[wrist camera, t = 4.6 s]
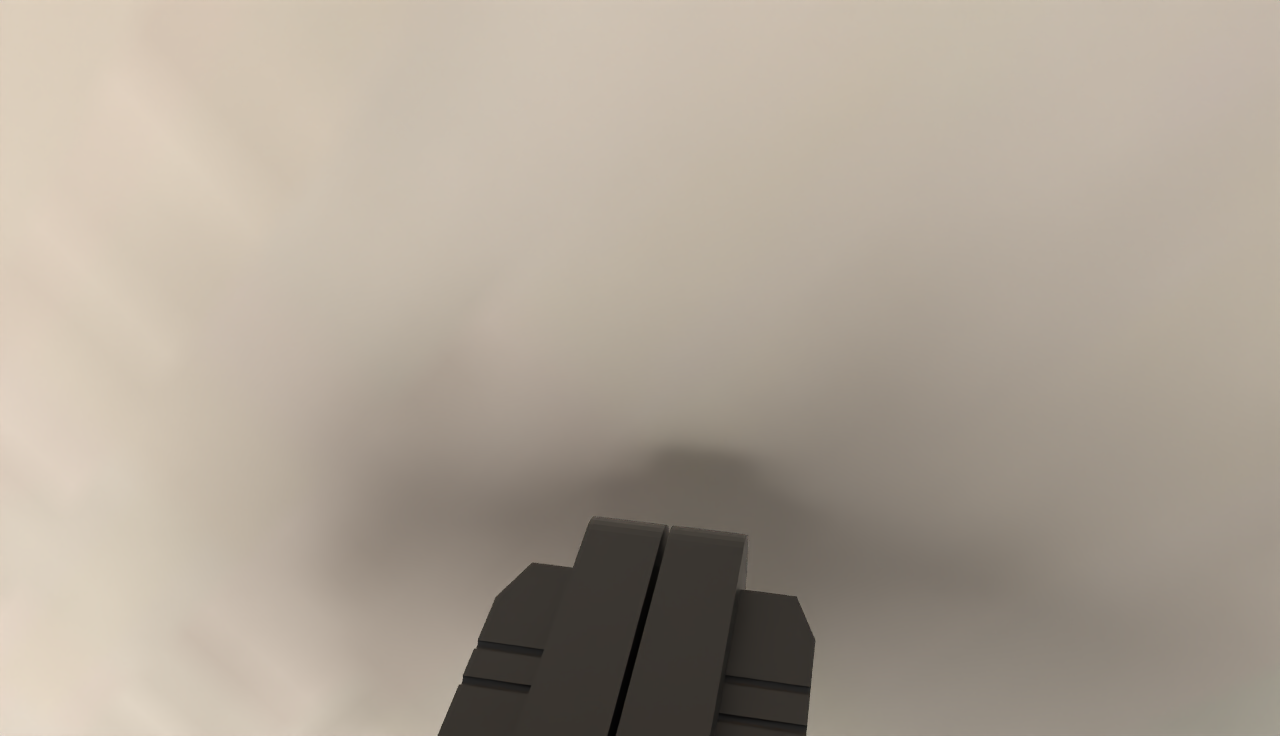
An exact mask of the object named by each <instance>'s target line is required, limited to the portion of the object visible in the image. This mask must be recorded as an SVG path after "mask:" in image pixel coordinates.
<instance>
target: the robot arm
mask: <svg viewBox="0 0 1280 736" xmlns="http://www.w3.org/2000/svg"><path fill="white" fill-rule="evenodd" d="M747 556H748V535H745V534H737V533H729V532H721V531H712V530H704V529H696V528H688V527H680V526H673V527H672V528H671V531H670V533H669V528H668V526H667V525H661V524H653V523H645V522H637V521H628V520H620V519H612V518H604V517H596V516H595V517H593V518H592V519H591V520H590V522H589V524H588V527H587V529H586V532H585V535H584V538H583V541H582V544H581V546H580V549H579V552H578V555H577V558H576V561H575V563H574V566H573V568H570V567H562V566H555V565H547V564H539V563H532V564H531V565H529V566H528V567H527V568H526V569H525V570H524V571H523V572H522V573H521V574H520V575H519V576H518V577H517V578H516V579H515V580H514V581H512V582H511V583H510V584H509V585H508V586H507V587H506V588H505V589H504V590H503V591H502V592H501V593H500V594H499V595H498V596H497V597H496V598H495V600H494V603H493V605H492V608H491V610H490V612H489V615H488V617H487V619H486V622H485V624H484V627H483V629H482V631H481V634H480V636H479V638H478V645H477V649H474V650H473V653H472V655H471V658H470V660H469V662H468V665H467V667H466V669H465V672H464V674H463V681H462V684H461V685H460V684H459V686H458V688H457V691H456V693H455V696H454V698H453V700H452V703H451V705H450V707H449V710H448V712H447V715H446V717H445V719H444V722H443V724H442V726H441V729H440V731H439V734H438V736H806V730H807V720H808V710H809V699H810V689H811V678H812V668H813V657H814V647H815V639H814V636H813V634H812V632H811V629H810V627H809V625H808V622H807V620H806V618H805V615H804V613H803V611H802V608H801V606H800V604H799V602H798V599H797V597H795V596H787V595H780V594H772V593H764V592H757V591H749V590H745V589H746V573H747Z"/></svg>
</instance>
